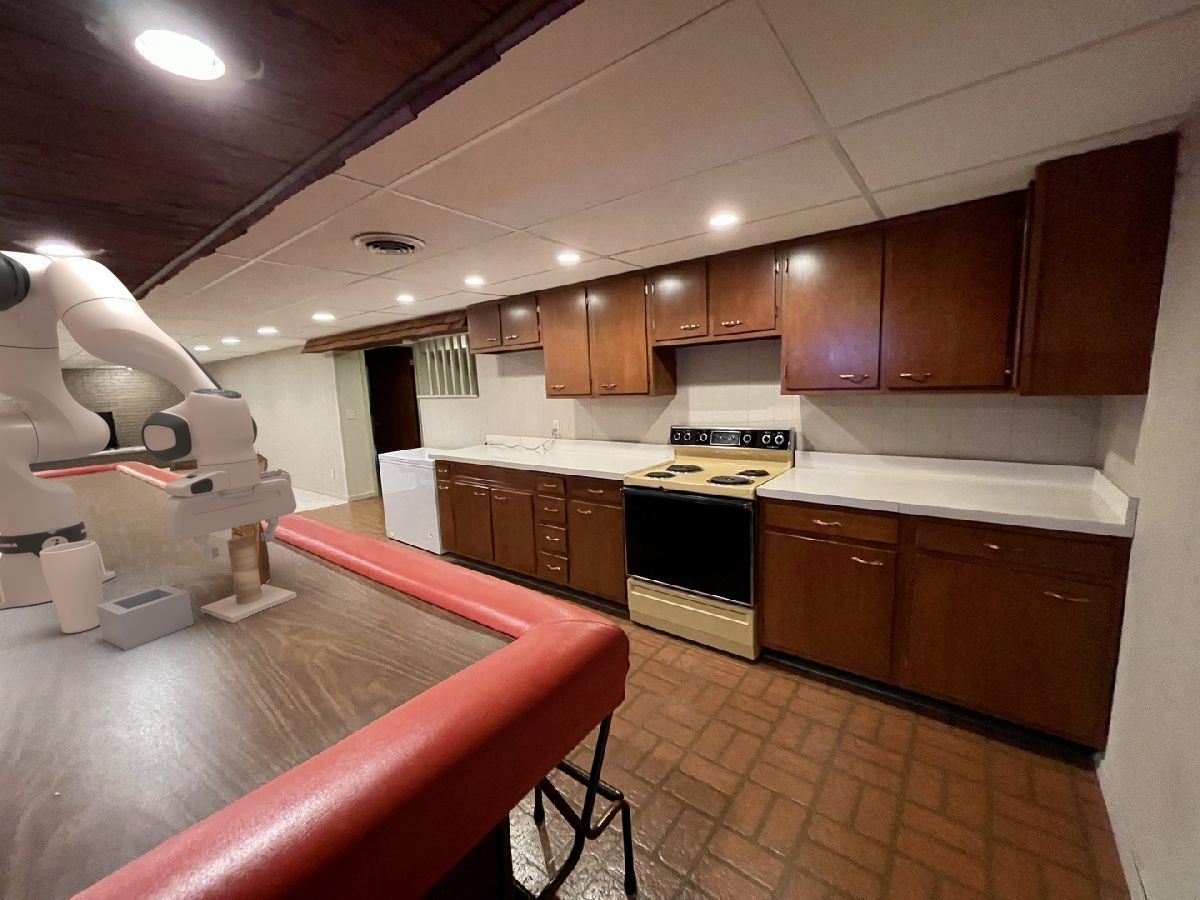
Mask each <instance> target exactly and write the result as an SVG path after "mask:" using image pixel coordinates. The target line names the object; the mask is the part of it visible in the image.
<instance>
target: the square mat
mask: <svg viewBox="0 0 1200 900" xmlns="http://www.w3.org/2000/svg"><path fill="white" fill-rule="evenodd" d="M261 590H262V598H261V599H259V600H257V601H254V602H251V603H247V604H237V603H236V596H235V594H233V595H230V596H228V597H225V598H223V599H220V600H217V601H215V602H214V601H213V602H211V603H209V604H206V605H203V606H200V612H201V613H202V612H204V613H203V614H205V613H207V614H206V615H208V614H210V615H209V616H211V615H212V616H211V617H214V618H217V619H220V620H223V621H226V622H228V623H229V622H230V623H231V624H232V623H233V624H234V623H237V622H239V621H241V619H242V620H244V619H247V618H249V617H251V616H250V615H252V614H254V615H256V614H255V613H257V612H259V611H261V612H263V611H262V610H264V609H266V608H269V607H271V608H273V607H272V606H274V607H276V606H278V605H277V604H279V605H281V604H284V603H286V602H289V601H291V600H293V599H296V598H297V592H295V591H293V590H292V591H291V590H288V589H284V588H281V587H276V586H273V585H269V584H264V585H261ZM283 602H284V603H283ZM280 603H281V604H280ZM275 605H276V606H275ZM269 609H270V608H269ZM266 610H267V609H266ZM264 611H265V610H264ZM259 613H260V612H259ZM257 614H258V613H257ZM248 616H249V617H248ZM252 616H253V615H252ZM246 617H247V618H246ZM243 618H244V619H243Z"/></svg>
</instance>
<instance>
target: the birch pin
mask: <svg viewBox="0 0 1200 900" xmlns="http://www.w3.org/2000/svg"><path fill="white" fill-rule="evenodd" d="M226 541H227V548H228V549H227V550H228V556H229V562H230V569H231V573H232V581H233V588H234V595H235V596H236V603H237V604H247V603H251V602H254V601H257V600H259V599H261V598H262V590H261V583H260V576H259V569H258V562H257V555H256V548H255V541H254V536H241V537H236V538H233V539H232V538H230V539H228V540H226Z"/></svg>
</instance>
